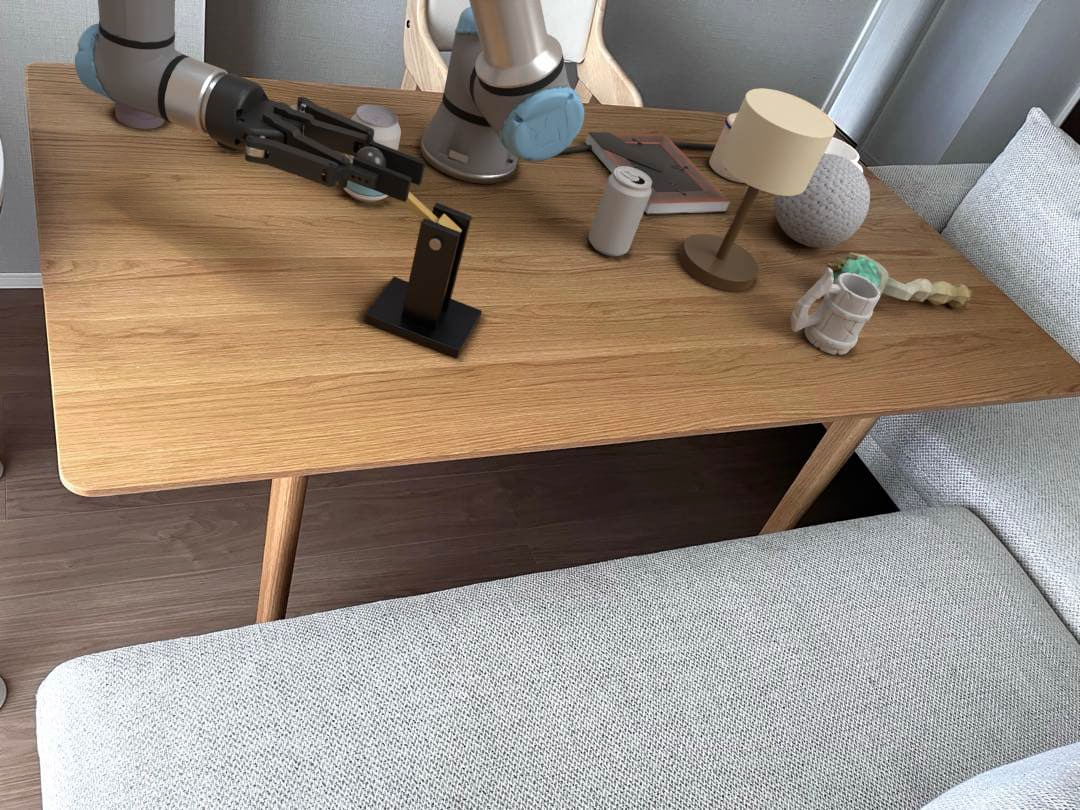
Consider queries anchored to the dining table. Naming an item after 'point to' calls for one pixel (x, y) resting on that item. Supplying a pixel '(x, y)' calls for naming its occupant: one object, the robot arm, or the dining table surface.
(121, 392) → the dining table surface
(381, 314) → the switch bracket
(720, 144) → the teacup with lid
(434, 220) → the lamp switch
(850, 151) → the mug
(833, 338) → the mug
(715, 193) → the picture frame
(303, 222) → the dining table surface
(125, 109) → the cat figurine
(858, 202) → the decorative ball
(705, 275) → the lamp
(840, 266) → the scepter
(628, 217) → the beverage can
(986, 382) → the dining table surface
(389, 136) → the beverage can
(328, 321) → the dining table surface
